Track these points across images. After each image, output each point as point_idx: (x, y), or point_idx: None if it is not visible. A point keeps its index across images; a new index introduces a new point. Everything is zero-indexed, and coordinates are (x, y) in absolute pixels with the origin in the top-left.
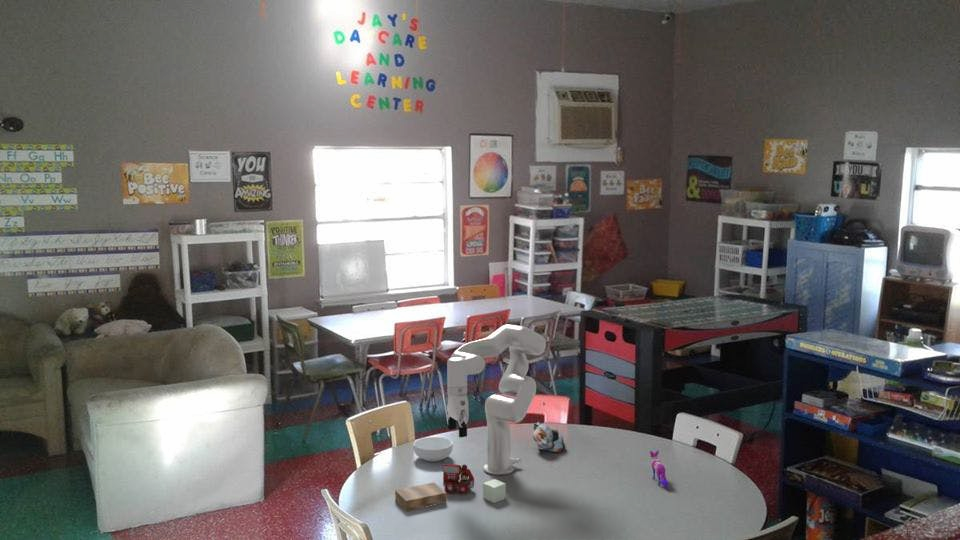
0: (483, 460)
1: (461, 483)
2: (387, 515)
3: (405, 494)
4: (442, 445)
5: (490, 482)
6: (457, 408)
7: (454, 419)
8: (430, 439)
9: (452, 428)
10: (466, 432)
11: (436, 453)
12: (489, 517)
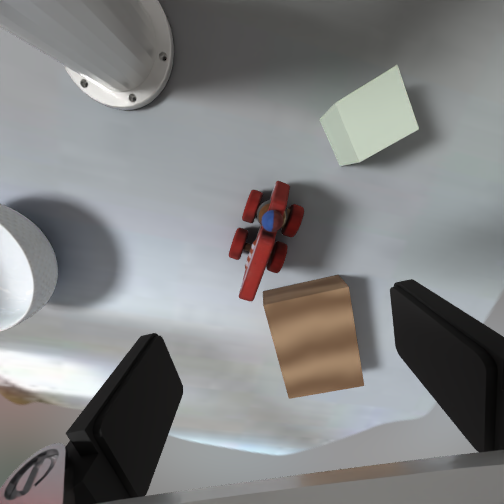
0: (28, 88)
1: (291, 228)
2: (358, 399)
3: (323, 382)
4: None
5: (363, 130)
6: None
7: (102, 443)
8: None
9: (170, 368)
10: (440, 303)
11: (45, 267)
12: (475, 178)
